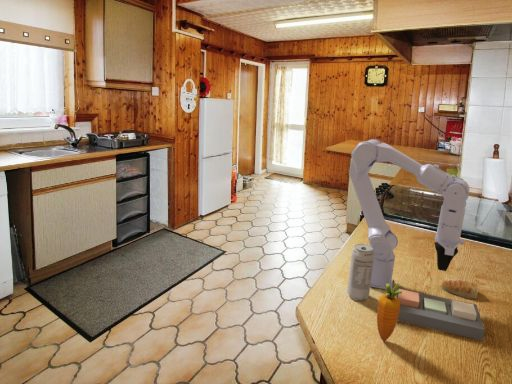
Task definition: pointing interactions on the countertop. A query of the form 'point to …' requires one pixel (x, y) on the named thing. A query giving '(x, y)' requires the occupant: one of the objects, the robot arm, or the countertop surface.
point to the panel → (441, 318)
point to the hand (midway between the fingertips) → (441, 269)
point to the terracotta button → (409, 298)
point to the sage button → (434, 306)
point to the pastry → (461, 288)
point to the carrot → (388, 312)
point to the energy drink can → (360, 272)
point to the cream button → (463, 310)
